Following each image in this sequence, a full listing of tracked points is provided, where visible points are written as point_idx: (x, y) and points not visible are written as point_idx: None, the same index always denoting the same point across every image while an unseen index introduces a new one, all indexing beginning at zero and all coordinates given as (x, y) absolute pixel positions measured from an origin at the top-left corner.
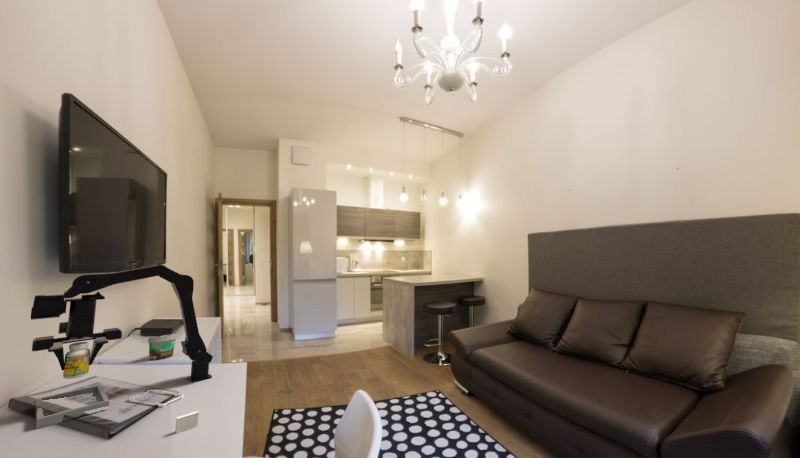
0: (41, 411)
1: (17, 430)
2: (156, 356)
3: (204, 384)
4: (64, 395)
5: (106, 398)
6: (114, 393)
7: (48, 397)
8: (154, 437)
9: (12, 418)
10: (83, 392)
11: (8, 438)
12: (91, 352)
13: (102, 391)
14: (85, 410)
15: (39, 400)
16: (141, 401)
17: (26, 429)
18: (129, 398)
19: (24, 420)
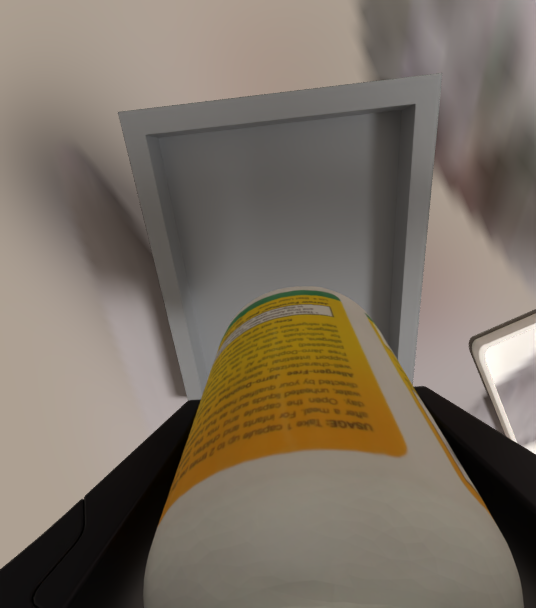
0: (189, 353)
1: (150, 368)
2: None
3: None
4: (249, 124)
5: (407, 375)
6: (466, 184)
7: (175, 130)
8: None
9: (90, 221)
10: (339, 114)
11: (145, 412)
12: (515, 526)
13: (416, 257)
14: None
15: (142, 168)
16: (506, 386)
17: (174, 378)
18: (483, 357)
19: (144, 284)
